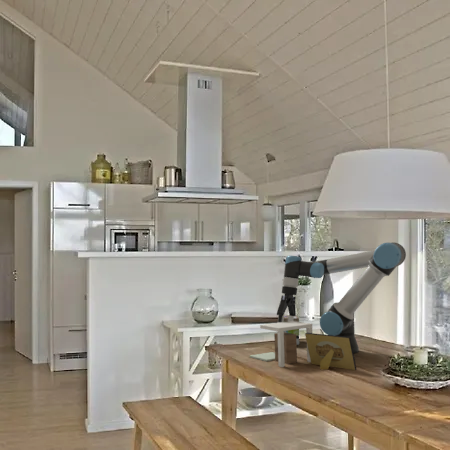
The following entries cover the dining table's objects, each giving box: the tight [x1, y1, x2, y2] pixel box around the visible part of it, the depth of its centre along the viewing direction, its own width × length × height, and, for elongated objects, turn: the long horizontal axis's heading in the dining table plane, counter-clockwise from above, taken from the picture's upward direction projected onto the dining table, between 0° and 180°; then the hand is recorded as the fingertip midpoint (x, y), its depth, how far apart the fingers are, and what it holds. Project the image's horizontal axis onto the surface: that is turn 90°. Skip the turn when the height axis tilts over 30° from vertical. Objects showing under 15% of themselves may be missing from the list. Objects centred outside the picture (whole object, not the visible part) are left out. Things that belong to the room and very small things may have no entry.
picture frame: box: [304, 332, 357, 371], centre depth 271 cm, size 23×9×15 cm, turn 47°
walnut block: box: [273, 332, 298, 365], centre depth 289 cm, size 9×6×13 cm, turn 33°
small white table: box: [259, 321, 313, 368], centre depth 288 cm, size 14×20×18 cm
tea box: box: [283, 314, 300, 346], centre depth 339 cm, size 15×10×15 cm, turn 179°
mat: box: [249, 351, 275, 362], centre depth 299 cm, size 14×14×1 cm
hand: (284, 328), depth 306 cm, fingers open, 13 cm apart
